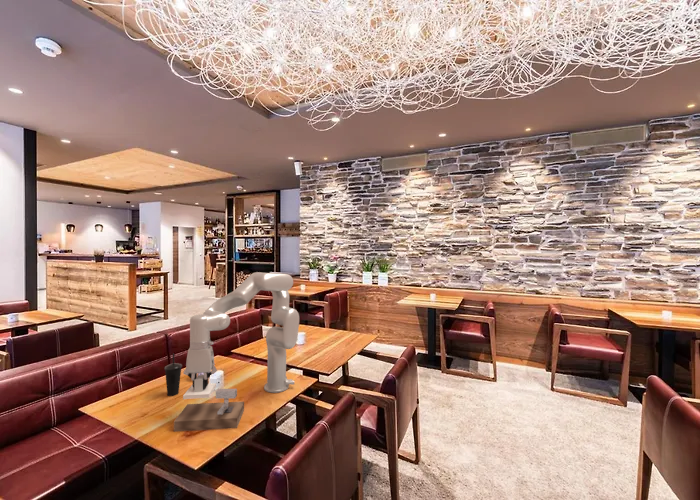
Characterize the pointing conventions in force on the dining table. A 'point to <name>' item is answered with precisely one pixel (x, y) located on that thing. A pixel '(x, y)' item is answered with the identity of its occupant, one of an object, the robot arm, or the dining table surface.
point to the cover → (199, 389)
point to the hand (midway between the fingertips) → (200, 387)
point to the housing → (208, 416)
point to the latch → (225, 398)
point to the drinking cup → (173, 378)
